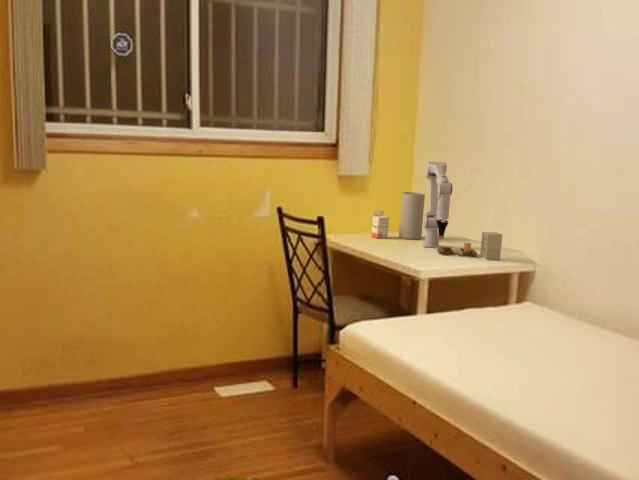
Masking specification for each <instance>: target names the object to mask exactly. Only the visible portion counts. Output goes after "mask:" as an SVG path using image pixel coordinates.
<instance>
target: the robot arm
mask: <svg viewBox="0 0 639 480" xmlns="http://www.w3.org/2000/svg"><path fill="white" fill-rule="evenodd" d="M447 168H448V166H447V163H446V162H445V161H429V160H428V161H427V162H426V163H425V178H426V179H428V182H429V210H428V211H426V212H424V214H423V225H422V228H424V229H425V234H424V235H425V236H424V242H423V243H422V245H423V247H424V248H436V249H437V248H438V247H441V246H440V239H438V238H437V235H438V229H439V236H444V237H445V232H446V229H447V226H448V225H449V221H448V220H449V218H450V215H449V214H450V204H451V203H450V202H451V196H452V194H453V184H452V182H450V181H449V178H448V176H447V175H446V173H447Z"/></svg>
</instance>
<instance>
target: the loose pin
mask: <svg viewBox="0 0 639 480" xmlns="http://www.w3.org/2000/svg"><path fill="white" fill-rule="evenodd" d="M437 238H438V239H439V240H444V239H445V235H444V236H439V229H438V235H437Z"/></svg>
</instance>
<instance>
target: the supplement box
mask: <svg viewBox="0 0 639 480" xmlns="http://www.w3.org/2000/svg"><path fill="white" fill-rule="evenodd" d="M480 242H481V243H480V255H479V257H480V258H481V257H482V258H481V259H483V258H485V259H500V260H501V256H502V255H501V252H502V244H503V243H502V242H503V234H502V233H500V232H497V231H482V234H481V241H480ZM485 259H484V260H485Z"/></svg>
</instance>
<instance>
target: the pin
mask: <svg viewBox="0 0 639 480" xmlns="http://www.w3.org/2000/svg"><path fill="white" fill-rule="evenodd" d="M463 246H464V247H463V249H464V252H468V253H470V251H471V249H472V243H470V242H465V243H464V245H463Z"/></svg>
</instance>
